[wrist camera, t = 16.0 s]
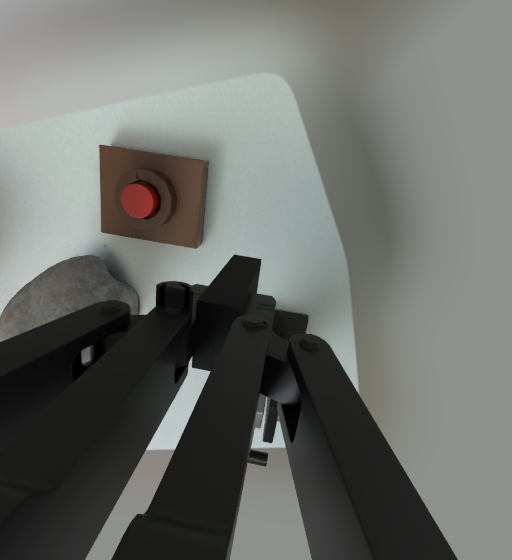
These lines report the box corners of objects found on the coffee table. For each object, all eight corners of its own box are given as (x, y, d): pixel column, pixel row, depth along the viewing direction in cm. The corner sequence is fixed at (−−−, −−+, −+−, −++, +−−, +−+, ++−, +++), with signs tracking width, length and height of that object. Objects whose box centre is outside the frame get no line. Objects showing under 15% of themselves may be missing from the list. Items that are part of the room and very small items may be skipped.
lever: (267, 452, 40) (265, 472, 38) (224, 443, 40) (220, 463, 38) (282, 395, 33) (280, 417, 31) (230, 385, 33) (225, 406, 31)
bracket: (291, 389, 46) (290, 476, 33) (223, 376, 47) (196, 456, 34) (308, 315, 42) (314, 381, 29) (233, 301, 42) (206, 360, 30)
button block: (208, 161, 37) (199, 160, 33) (201, 244, 40) (191, 252, 37) (109, 145, 38) (89, 143, 34) (110, 229, 41) (92, 235, 37)
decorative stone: (144, 348, 47) (79, 426, 33) (77, 342, 48) (-14, 414, 34) (135, 248, 42) (53, 289, 27) (61, 243, 43) (-54, 279, 28)
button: (160, 185, 35) (153, 186, 33) (158, 218, 36) (152, 220, 34) (128, 180, 35) (120, 181, 33) (128, 213, 36) (120, 215, 35)
